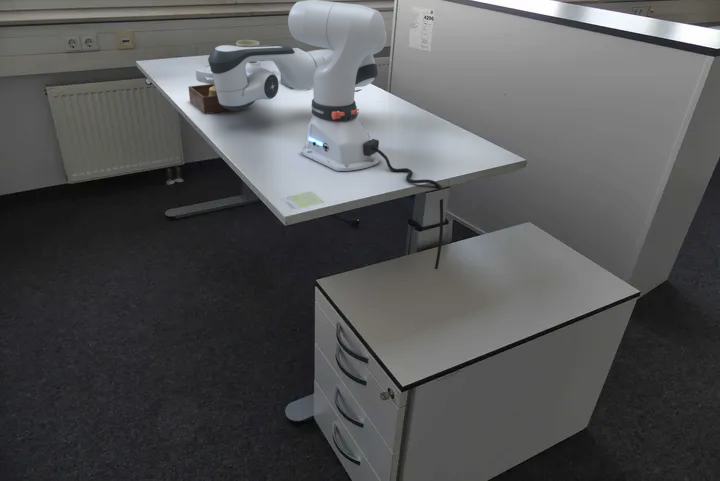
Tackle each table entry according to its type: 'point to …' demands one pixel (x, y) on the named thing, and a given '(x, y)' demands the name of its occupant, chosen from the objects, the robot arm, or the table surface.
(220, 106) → the crate
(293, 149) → the table surface
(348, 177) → the table surface
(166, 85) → the table surface
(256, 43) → the mug
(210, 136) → the table surface
